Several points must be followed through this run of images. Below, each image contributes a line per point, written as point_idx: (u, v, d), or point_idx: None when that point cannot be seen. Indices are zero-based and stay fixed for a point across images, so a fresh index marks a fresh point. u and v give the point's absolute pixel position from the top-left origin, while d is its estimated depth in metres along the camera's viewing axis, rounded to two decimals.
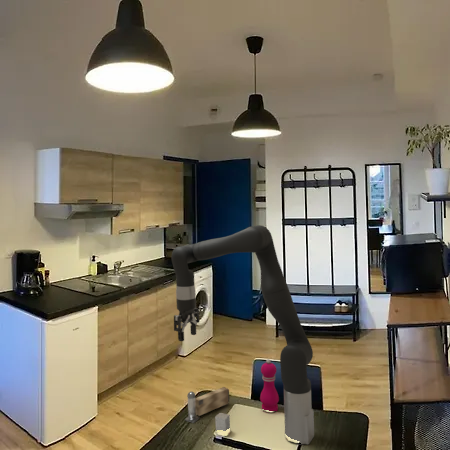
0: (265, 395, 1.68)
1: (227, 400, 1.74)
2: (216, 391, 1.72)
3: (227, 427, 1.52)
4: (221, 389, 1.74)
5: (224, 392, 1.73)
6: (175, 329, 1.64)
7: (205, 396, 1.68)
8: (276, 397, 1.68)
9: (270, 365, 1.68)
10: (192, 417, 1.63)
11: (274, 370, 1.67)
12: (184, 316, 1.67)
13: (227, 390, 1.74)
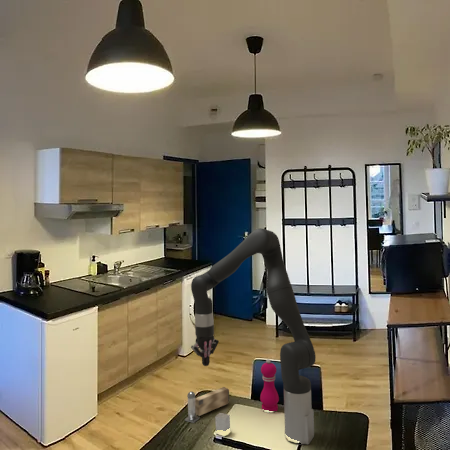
0: (265, 395, 1.68)
1: (227, 400, 1.74)
2: (216, 391, 1.72)
3: (227, 427, 1.52)
4: (221, 389, 1.74)
5: (224, 392, 1.73)
6: None
7: (205, 396, 1.68)
8: (276, 397, 1.68)
9: (270, 365, 1.68)
10: (192, 417, 1.63)
11: (274, 370, 1.67)
12: None
13: (227, 390, 1.74)
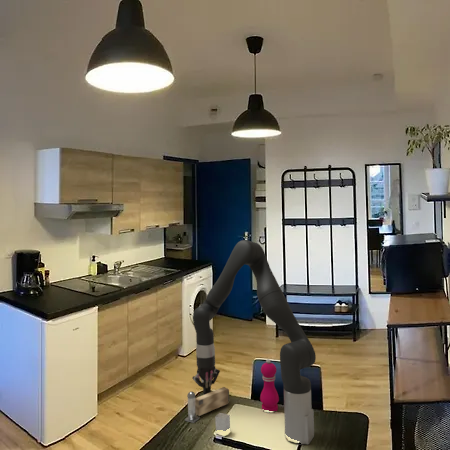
0: (265, 395, 1.68)
1: (227, 400, 1.74)
2: (216, 391, 1.72)
3: (227, 427, 1.52)
4: (221, 389, 1.74)
5: (224, 392, 1.73)
6: None
7: (205, 396, 1.68)
8: (276, 397, 1.68)
9: (270, 365, 1.68)
10: (192, 417, 1.63)
11: (274, 370, 1.67)
12: None
13: (227, 390, 1.74)
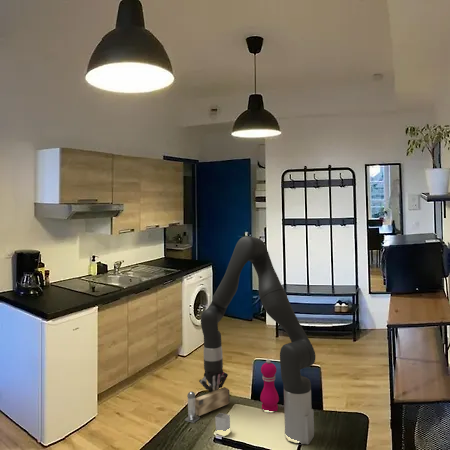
0: (265, 395, 1.68)
1: (227, 400, 1.74)
2: (216, 391, 1.72)
3: (227, 427, 1.52)
4: (222, 389, 1.73)
5: (224, 392, 1.73)
6: None
7: (205, 396, 1.68)
8: (276, 397, 1.68)
9: (270, 365, 1.68)
10: (192, 417, 1.63)
11: (274, 370, 1.67)
12: None
13: (228, 390, 1.74)
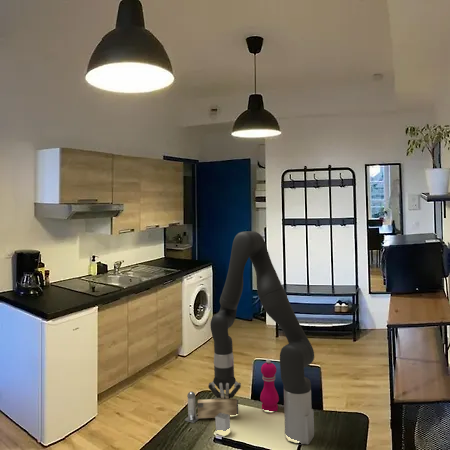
0: (265, 395, 1.68)
1: (236, 413, 1.63)
2: (223, 399, 1.65)
3: (227, 427, 1.52)
4: (230, 400, 1.64)
5: (231, 403, 1.63)
6: None
7: (208, 401, 1.64)
8: (276, 397, 1.68)
9: (270, 365, 1.68)
10: (192, 417, 1.63)
11: (274, 370, 1.67)
12: None
13: (236, 402, 1.63)
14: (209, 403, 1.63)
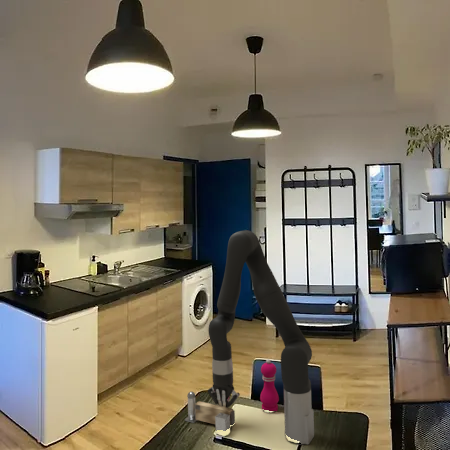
0: (265, 395, 1.68)
1: None
2: (220, 407, 1.59)
3: (227, 427, 1.52)
4: (226, 409, 1.57)
5: (225, 412, 1.56)
6: (230, 405, 1.58)
7: (205, 405, 1.61)
8: (276, 397, 1.68)
9: (270, 365, 1.68)
10: (192, 417, 1.63)
11: (274, 370, 1.67)
12: None
13: (229, 412, 1.55)
14: (205, 407, 1.60)
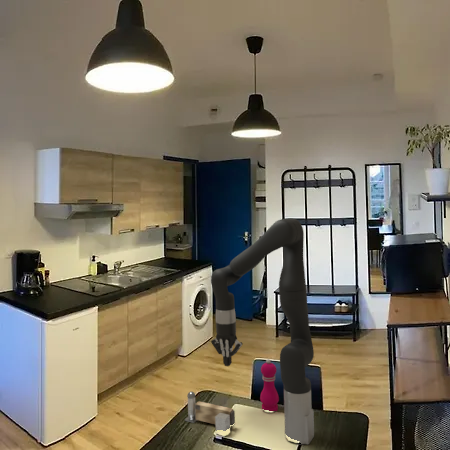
0: (265, 395, 1.68)
1: None
2: (220, 407, 1.59)
3: (227, 427, 1.52)
4: (225, 409, 1.57)
5: (225, 412, 1.56)
6: (233, 354, 1.63)
7: (205, 405, 1.61)
8: (276, 397, 1.68)
9: (270, 365, 1.68)
10: (192, 417, 1.63)
11: (274, 370, 1.67)
12: None
13: (229, 413, 1.55)
14: (205, 407, 1.60)
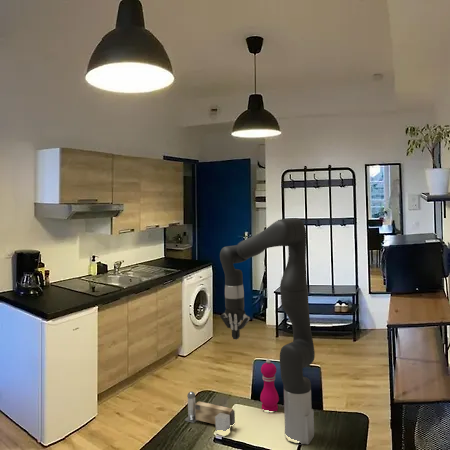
0: (265, 395, 1.68)
1: None
2: (220, 407, 1.59)
3: (227, 427, 1.52)
4: (225, 409, 1.57)
5: (225, 412, 1.56)
6: (241, 328, 1.71)
7: (205, 405, 1.61)
8: (276, 397, 1.68)
9: (270, 365, 1.68)
10: (192, 417, 1.63)
11: (274, 370, 1.67)
12: None
13: (229, 413, 1.55)
14: (205, 407, 1.60)
